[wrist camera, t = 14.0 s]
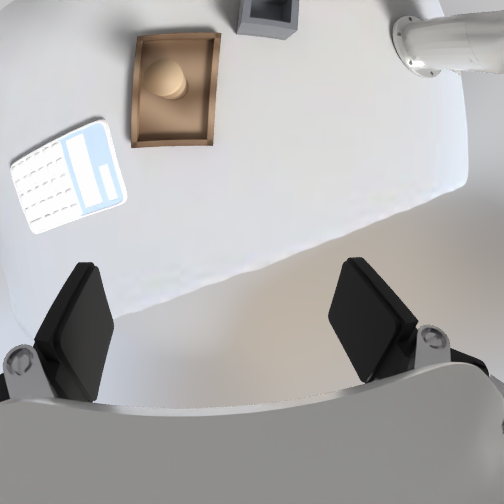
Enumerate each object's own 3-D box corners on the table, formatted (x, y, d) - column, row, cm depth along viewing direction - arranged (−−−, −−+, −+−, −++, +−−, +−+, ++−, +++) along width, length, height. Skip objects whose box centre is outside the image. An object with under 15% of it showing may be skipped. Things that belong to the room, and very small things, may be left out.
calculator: (13, 163, 29) (7, 166, 28) (108, 116, 30) (103, 116, 29) (37, 232, 36) (32, 237, 34) (130, 200, 37) (127, 204, 36)
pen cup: (287, 3, 25) (299, -10, 21) (284, 40, 29) (297, 30, 24) (240, -4, 24) (246, -19, 20) (236, 34, 28) (241, 22, 23)
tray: (140, 40, 25) (137, 36, 24) (220, 37, 27) (221, 33, 26) (134, 146, 33) (131, 148, 31) (212, 144, 35) (213, 145, 33)
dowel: (189, 75, 29) (183, 58, 19) (187, 100, 31) (181, 94, 21) (162, 76, 28) (144, 60, 18) (161, 101, 30) (142, 96, 20)
